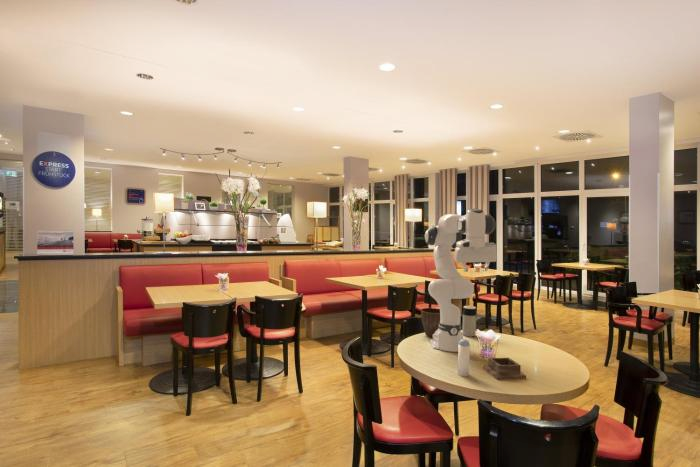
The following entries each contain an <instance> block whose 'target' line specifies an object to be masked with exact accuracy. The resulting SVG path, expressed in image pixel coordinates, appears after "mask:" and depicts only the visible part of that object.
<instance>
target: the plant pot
mask: <svg viewBox="0 0 700 467" xmlns="http://www.w3.org/2000/svg"><path fill="white" fill-rule="evenodd" d="M420 316H421V322H422V326H423V330H424V333H425V336H426V335H427V336H426V337H428V336H430V337H429V338H433V334H435V331H437V330H438V329H439V322H440V308H438V307H436V308H434V307H424V308H421V309H420Z"/></svg>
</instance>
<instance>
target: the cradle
mask: <svg viewBox="0 0 700 467" xmlns="http://www.w3.org/2000/svg"><path fill="white" fill-rule="evenodd" d="M487 363H488V364H483V365H482V369H484V370H485V371H486V372H487V373H489V375H490V376H492V377H493V378H495V379H496V380H497V381H499V380H526V379H527V374H525V373H524V372H522V371H521V368H522V367H521V365H520V363H518V362H516V361H514V360H513V359H512V358H510V357H488V362H487Z"/></svg>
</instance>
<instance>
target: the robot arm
mask: <svg viewBox="0 0 700 467" xmlns="http://www.w3.org/2000/svg"><path fill="white" fill-rule="evenodd" d="M496 227H497V224H496V220H495V218H494V217H493V216H492V215H491V214H486V212H485V211H484V210H483V209H481V208H471V209H467V212H466V214H464V215H459V214H455V213H448V214H444V215H442V216H441V217H440V218H439V219H438V225H434V224H433V225H432V226H431V227H429V228H427V229H426V231H425V233H424V239H425V243H426V245H429V246H435V247H434V248H433V262H434V265H435V266H434V267H435V269H436V273H437V276H438V277H439V278H438V279H437V278H436V279H433V280H430V283H429V284H428V288H427V291H428V293H429V296H430V297H431V298H432V299H434V300H435V301H436V303H437V305H438V307H439V308H438V309H440V322H439V329H438V330H437V331H435V334H433V337H432V338H430V341H431V342H430V344H431V346H432V348H433V349H436V350H441V351H444V352H453V353H454V352H458V344H459V341H460V340H462V339H464V335H463V333H462V323H461V309H460V307H458V306H457V305H456V304H453V303H452V300H454V299H455V300H457V299H459V300H460V299H461V300H462V299H463V300H464V299H468V298H471V297H473V295H474V293H475V287H474V284H473V282H472V281H471V280H469V279H467V278H466V277H464V276H463V275H462V274H461V273H460V272H459V270H458V269H457V266H456V264H455V262H456V263H459V264H460V263H461V265H462V267H463V272H465V273H467V272H469V268H468V267H466V265H467V263H485V265H484V266H483V267H482V271H483V272H488V267H490V263H496V262H497V261H498V254H497V250H498V246H497V244H496V243H494V242H486V235H491V234H492V233H493V232H494V230H496ZM463 235H466V236H465V238H464V239H463ZM452 249H453V250H454V252H453V254H454V256H453V255H452Z"/></svg>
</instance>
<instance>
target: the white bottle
mask: <svg viewBox="0 0 700 467" xmlns="http://www.w3.org/2000/svg"><path fill="white" fill-rule="evenodd" d="M470 346H471V344H470V342H469V340H467V338H466V339H465V338H463V339H462V340H460V341H459V344H458V351H457V352H458V353H457V375H458V376H460V377H469V376H470V348H471V347H470Z"/></svg>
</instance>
